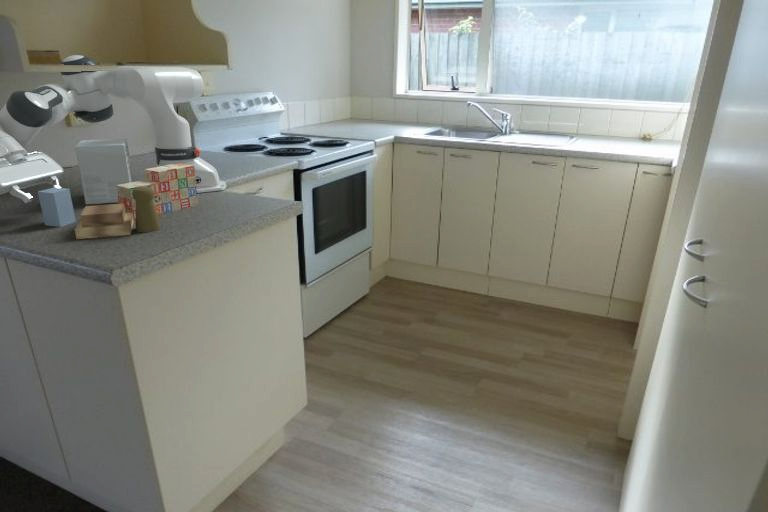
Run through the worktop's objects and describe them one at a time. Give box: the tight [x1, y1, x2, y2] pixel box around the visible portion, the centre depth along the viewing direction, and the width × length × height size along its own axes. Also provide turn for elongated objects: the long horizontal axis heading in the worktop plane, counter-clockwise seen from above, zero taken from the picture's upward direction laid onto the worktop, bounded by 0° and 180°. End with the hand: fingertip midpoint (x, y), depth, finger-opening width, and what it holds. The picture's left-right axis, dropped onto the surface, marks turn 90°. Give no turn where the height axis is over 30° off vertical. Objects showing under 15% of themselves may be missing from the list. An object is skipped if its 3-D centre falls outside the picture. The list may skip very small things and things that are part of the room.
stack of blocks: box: [116, 164, 199, 222], centre depth 150 cm, size 21×6×12 cm, turn 147°
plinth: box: [74, 203, 135, 240], centre depth 133 cm, size 12×12×6 cm
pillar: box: [37, 186, 76, 228], centre depth 138 cm, size 5×5×9 cm
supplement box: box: [74, 138, 134, 205], centre depth 161 cm, size 13×13×18 cm
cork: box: [132, 187, 162, 233], centre depth 134 cm, size 6×6×11 cm
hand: (45, 196), depth 137 cm, fingers open, 8 cm apart
